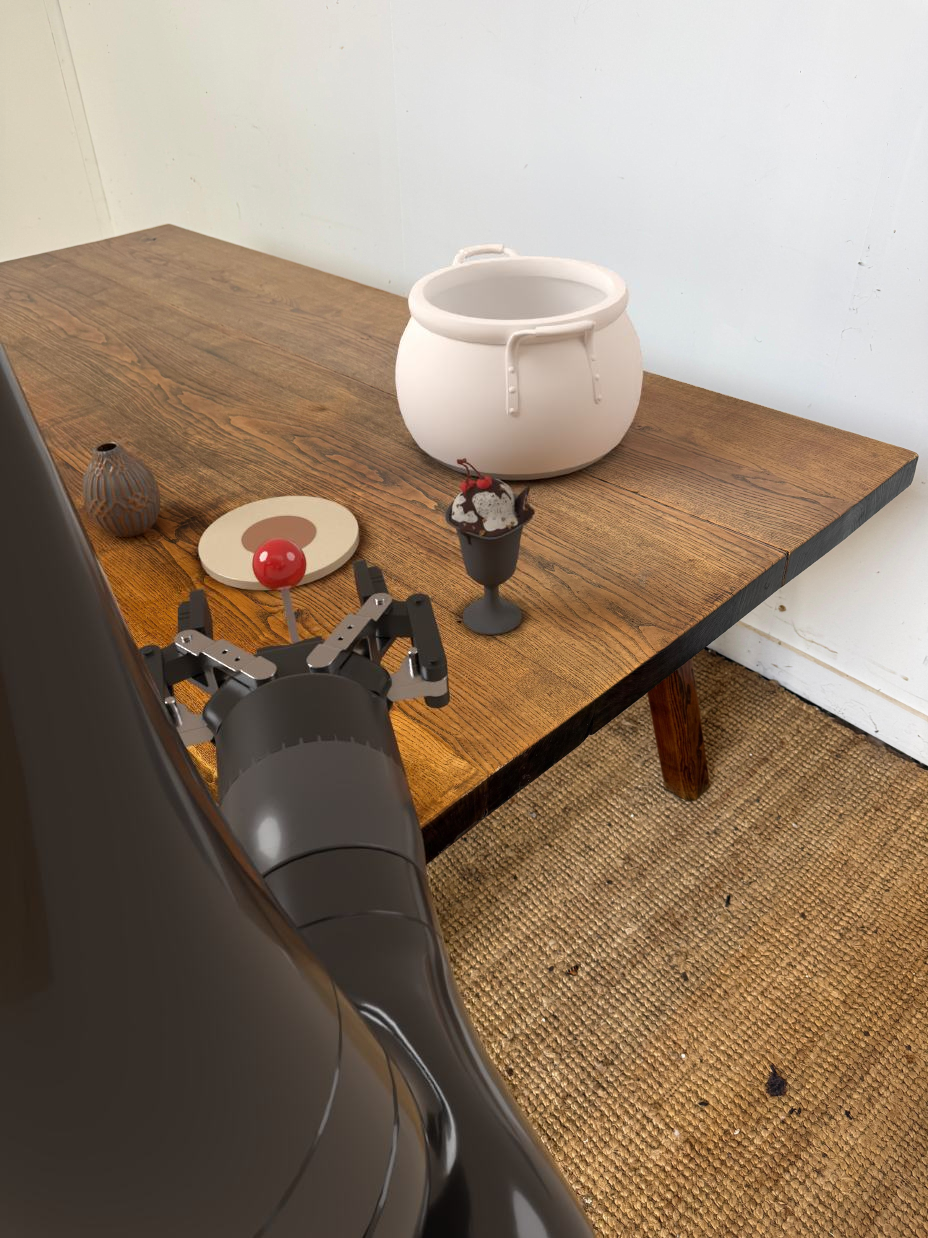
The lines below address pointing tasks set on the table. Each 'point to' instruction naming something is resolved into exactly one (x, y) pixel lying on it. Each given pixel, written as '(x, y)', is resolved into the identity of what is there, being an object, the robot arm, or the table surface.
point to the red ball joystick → (281, 573)
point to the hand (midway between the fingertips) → (281, 588)
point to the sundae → (489, 546)
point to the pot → (518, 364)
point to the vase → (120, 491)
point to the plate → (298, 518)
